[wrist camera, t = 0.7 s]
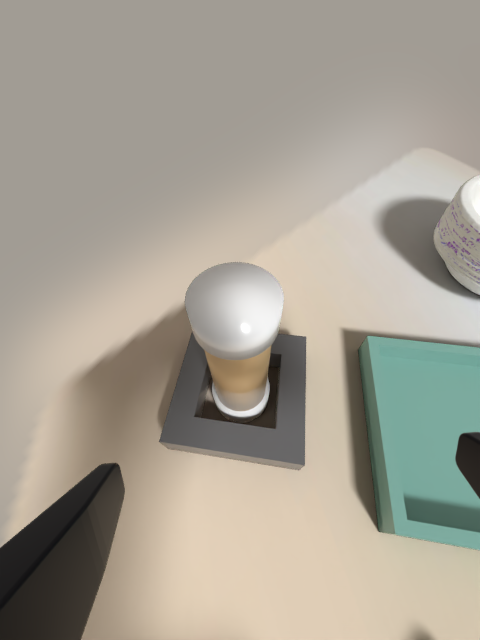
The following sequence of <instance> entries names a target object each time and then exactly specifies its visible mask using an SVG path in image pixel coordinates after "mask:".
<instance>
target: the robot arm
mask: <svg viewBox="0 0 480 640" xmlns="http://www.w3.org/2000/svg"><path fill="white" fill-rule="evenodd" d="M455 461H456V464H457V467H458V468H459V470H460V472H461V473H462V474H463V476H464V477H465V479H466V480H467V482H468V483H469V484H470V486H471V487H472V489H473V490H474V492H475V493H476V495H477V496H478V497H479V499H480V432H467V433H462V434H461V435H460V436H459V439H458V445H457V450H456V456H455ZM124 494H125V488H124V483H123V479H122V475H121V470H120V467H119V465H118V464H117V463H107V464H101V465H99V466H98V467H97V468H96V469H94V470H93V471H92V472H91V473H90V474H88V475H87V476H86V477H85V478H84V479H82V480H81V481H80V482H79V483H78V484H76V485H75V486H74V487H73V488H72V489H70V490H69V491H68V492H67V493H66V494H64V495H63V496H62V497H61V498H60V499H58V500H57V501H56V502H55V503H54V504H52V505H51V506H50V507H49V508H48V509H46V510H45V511H44V512H43V513H42V514H40V515H39V516H38V517H37V518H36V519H34V520H33V521H32V522H31V523H30V524H28V525H27V526H26V527H25V528H24V529H22V530H21V531H20V532H19V533H18V534H16V535H15V536H14V537H13V538H12V539H10V540H9V541H8V542H7V543H6V544H4V545H3V546H2V547H1V548H0V640H81V637H82V634H83V632H84V629H85V626H86V623H87V620H88V617H89V615H90V612H91V609H92V606H93V603H94V600H95V598H96V595H97V592H98V589H99V586H100V583H101V580H102V577H103V574H104V571H105V568H106V565H107V561H108V557H109V554H110V550H111V546H112V542H113V538H114V534H115V530H116V527H117V523H118V519H119V515H120V511H121V507H122V503H123V499H124Z"/></svg>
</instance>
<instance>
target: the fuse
mask: <svg viewBox="0 0 480 640" xmlns="http://www.w3.org/2000/svg"><path fill="white" fill-rule="evenodd" d="M283 303H284V295H283V290H282V287H281V285H280V284H279V282H278V281H277V279H276V278H275V277H274V276H273V275H272V274H271V273H269V272H268V271H266V270H265V269H263V268H261V267H259V266H256V265H253V264H249V263H242V262H233V263H232V262H231V263H224V264H220V265H216V266H214V267H211V268H209V269H207V270H205V271H204V272H202V273H201V274H199V275H198V276H197V277H196V278H195V279H194V280H193V281H192V283H191V284H190V286H189V287H188V290H187V292H186V296H185V307H186V311H187V314H188V318H189V321H190V324H191V327H192V330H193V334H194V336H195V339H196V340H197V342H198V344H199V345H200V346H201V347H202V348H203V349H204V351H205V354H206V358H207V361H208V365H209V368H210V372H211V376H212V379H213V383H212V393H213V397H214V400H215V403H216V406H217V408H218V410H219V412H220V413H221V414H222V415H223V416H224V417H225V418H227V419H229V420H231V421H233V422H238V423H245V422H249V421H252V420H254V419H256V418H257V417H259V416H260V415H261V414H262V413H263V411H264V410H265V408H266V406H267V403H268V397H269V391H270V385H269V380H268V377H267V376H268V368H269V361H270V353H271V345H272V343H273V342H274V341H275V339H276V337H277V335H278V332H279V328H280V322H281V315H282V309H283Z"/></svg>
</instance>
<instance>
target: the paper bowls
mask: <svg viewBox="0 0 480 640" xmlns="http://www.w3.org/2000/svg"><path fill="white" fill-rule="evenodd" d="M433 239H434V243H435V247H436V250H437V251H438V253H439V254H440V256H441V258H442V259H443V260H444V261H445V264H446V267H447V269H448V270H449V272H450V273H451V275H452V276H453V277H454V278H455V279H456V280H457V281H458V282H459V283H460V284H462V285H463V286H464V287H466V288H467V289H469V290H470V291H472V292H474V293H476V294H478V295H480V175H477V176H475V177H473V178H471V179H469V180H468V181H466V182H465V183H464V184H463V185H462V186H461V187H460V188H459V190H458V192H457V193H456V195H455V197H454V198H453V199H452V201H451V203H450V205H449V206H448V207H447V208H446V210H445V212H444V214H443V215H442V217H441V218H440V220H439V222H438V223H437V225H436V227H435V230H434V237H433Z"/></svg>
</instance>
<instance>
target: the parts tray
mask: <svg viewBox="0 0 480 640" xmlns="http://www.w3.org/2000/svg"><path fill="white" fill-rule="evenodd" d="M358 354H359V362H360V371H361V380H362V389H363V398H364V407H365V415H366V424H367V433H368V442H369V451H370V459H371V468H372V477H373V486H374V495H375V504H376V512H377V521H378V530H379V532H382V533H388V534H393V535H399V536H404V537H409V538H415V539H420V540H426V541H431V542H437V543H442V544H448V545H453V546H458V547H464V548H469V549H475V550H480V499H479V497H478V496H477V495H476V493H475V492H474V490H473V489H472V487H471V486H470V484H469V483H468V482H467V480H466V479H465V477H464V476H463V474H462V473H461V472H460V470H459V468H458V467H457V464H456V461H455V456H456V450H457V445H458V439H459V436H460V435H461V434H462V433H467V432H480V348H478V347H468V346H459V345H450V344H440V343H431V342H422V341H412V340H403V339H394V338H384V337H375V336H367V337H366V339H365V340H364V342H363V343H362V345H361V346H360V348H359V349H358Z"/></svg>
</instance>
